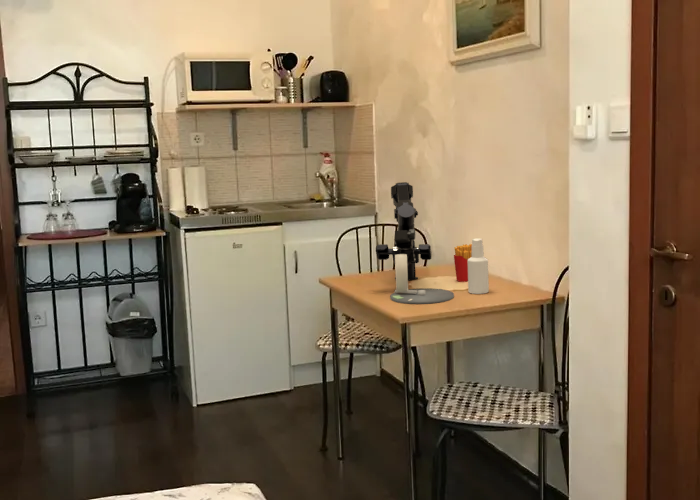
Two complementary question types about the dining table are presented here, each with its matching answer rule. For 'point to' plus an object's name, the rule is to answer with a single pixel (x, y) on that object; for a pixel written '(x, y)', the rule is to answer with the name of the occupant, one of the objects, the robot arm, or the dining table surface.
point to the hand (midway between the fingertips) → (401, 272)
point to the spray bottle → (478, 269)
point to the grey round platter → (423, 296)
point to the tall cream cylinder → (402, 274)
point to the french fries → (462, 261)
